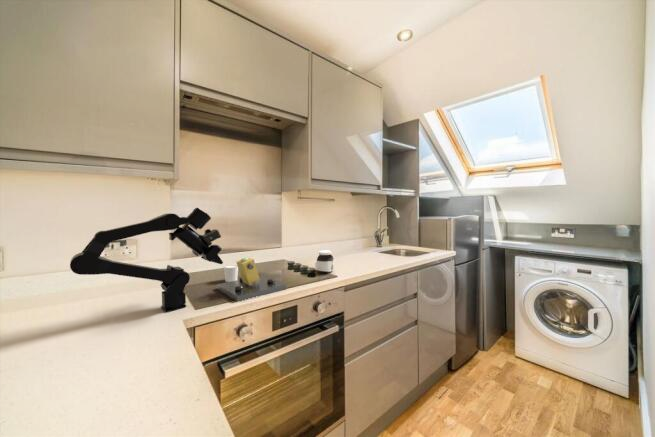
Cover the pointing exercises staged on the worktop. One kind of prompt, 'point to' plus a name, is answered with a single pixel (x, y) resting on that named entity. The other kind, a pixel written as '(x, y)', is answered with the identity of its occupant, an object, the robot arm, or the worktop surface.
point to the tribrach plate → (250, 288)
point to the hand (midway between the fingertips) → (222, 263)
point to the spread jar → (325, 262)
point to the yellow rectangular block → (248, 270)
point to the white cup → (231, 273)
